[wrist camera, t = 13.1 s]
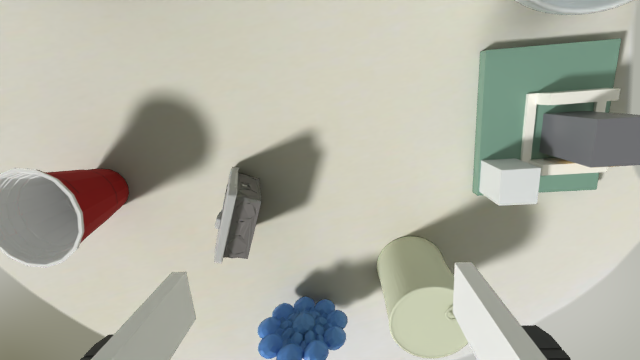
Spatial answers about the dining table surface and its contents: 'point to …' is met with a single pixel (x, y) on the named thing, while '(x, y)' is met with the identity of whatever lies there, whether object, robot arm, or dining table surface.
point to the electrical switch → (237, 216)
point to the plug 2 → (592, 138)
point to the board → (541, 104)
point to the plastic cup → (54, 211)
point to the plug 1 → (509, 181)
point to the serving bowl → (572, 6)
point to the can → (419, 298)
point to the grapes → (302, 331)
